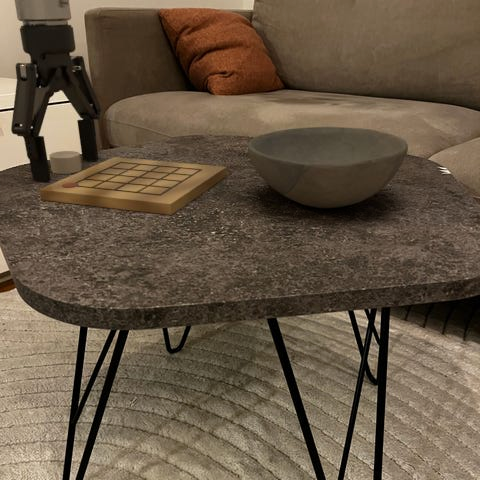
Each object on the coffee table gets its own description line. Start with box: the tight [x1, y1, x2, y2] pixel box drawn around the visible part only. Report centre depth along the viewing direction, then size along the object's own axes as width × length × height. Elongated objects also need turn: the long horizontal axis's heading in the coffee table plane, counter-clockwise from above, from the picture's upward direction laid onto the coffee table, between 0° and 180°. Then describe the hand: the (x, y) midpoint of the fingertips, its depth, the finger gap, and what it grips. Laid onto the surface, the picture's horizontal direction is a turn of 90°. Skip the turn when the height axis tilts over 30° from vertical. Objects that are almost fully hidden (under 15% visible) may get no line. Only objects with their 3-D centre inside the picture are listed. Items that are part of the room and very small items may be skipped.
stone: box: [48, 150, 83, 175], centre depth 96 cm, size 5×5×3 cm
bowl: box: [246, 126, 409, 209], centre depth 80 cm, size 21×21×8 cm
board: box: [39, 156, 228, 216], centre depth 87 cm, size 20×20×2 cm
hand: (67, 169), depth 96 cm, fingers open, 13 cm apart
